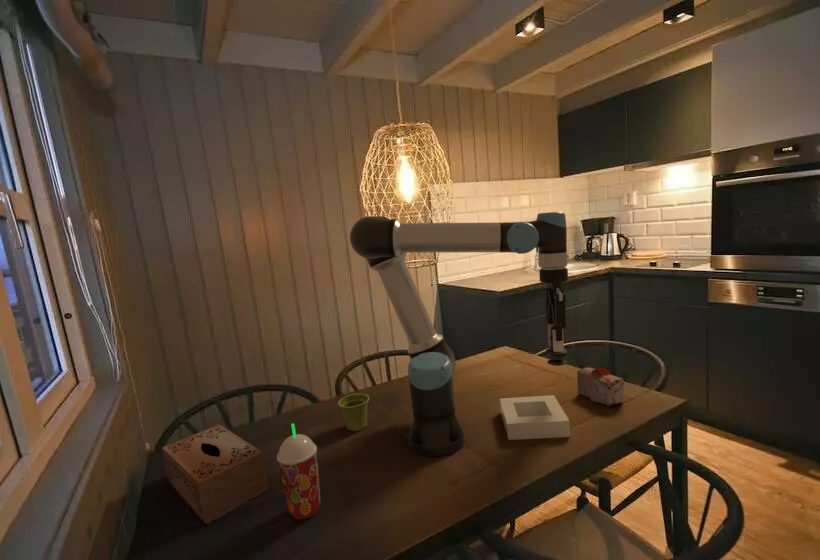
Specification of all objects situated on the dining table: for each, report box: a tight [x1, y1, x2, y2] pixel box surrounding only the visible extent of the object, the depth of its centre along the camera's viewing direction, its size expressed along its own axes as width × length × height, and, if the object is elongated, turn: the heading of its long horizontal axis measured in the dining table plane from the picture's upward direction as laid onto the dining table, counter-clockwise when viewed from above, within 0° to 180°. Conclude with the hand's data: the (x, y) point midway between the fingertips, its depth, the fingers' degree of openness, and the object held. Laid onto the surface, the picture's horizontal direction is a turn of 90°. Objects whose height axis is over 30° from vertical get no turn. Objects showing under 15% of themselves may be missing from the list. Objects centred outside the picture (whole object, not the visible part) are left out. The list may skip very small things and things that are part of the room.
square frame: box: [499, 395, 571, 441], centre depth 115 cm, size 16×16×4 cm
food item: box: [576, 367, 625, 407], centre depth 125 cm, size 14×8×10 cm, turn 24°
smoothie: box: [276, 423, 322, 520], centre depth 87 cm, size 8×8×20 cm
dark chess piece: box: [545, 325, 568, 367], centre depth 116 cm, size 6×6×12 cm
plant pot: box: [337, 393, 370, 432], centre depth 124 cm, size 9×9×9 cm
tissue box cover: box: [161, 424, 269, 523], centre depth 101 cm, size 26×14×10 cm, turn 47°
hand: (556, 348), depth 116 cm, fingers closed on dark chess piece, 4 cm apart
